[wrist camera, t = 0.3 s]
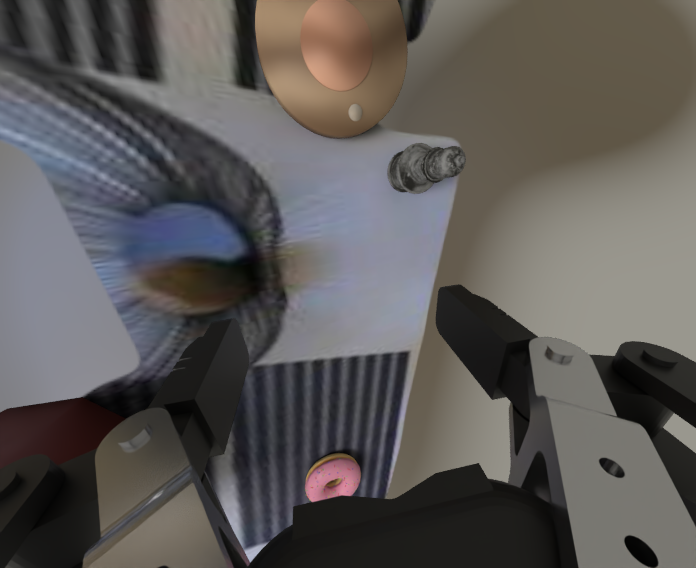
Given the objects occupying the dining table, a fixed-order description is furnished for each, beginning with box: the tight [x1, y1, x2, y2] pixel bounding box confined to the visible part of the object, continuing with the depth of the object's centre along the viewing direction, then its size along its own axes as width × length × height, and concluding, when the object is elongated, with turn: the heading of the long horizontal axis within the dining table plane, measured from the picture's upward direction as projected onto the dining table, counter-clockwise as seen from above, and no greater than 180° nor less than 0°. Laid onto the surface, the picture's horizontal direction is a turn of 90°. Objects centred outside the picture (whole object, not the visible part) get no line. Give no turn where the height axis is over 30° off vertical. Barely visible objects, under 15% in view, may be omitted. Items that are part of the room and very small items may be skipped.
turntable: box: [255, 0, 407, 138], centre depth 26 cm, size 16×16×2 cm
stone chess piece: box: [388, 143, 466, 194], centre depth 29 cm, size 6×6×12 cm
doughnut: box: [305, 453, 361, 502], centre depth 48 cm, size 11×11×4 cm
